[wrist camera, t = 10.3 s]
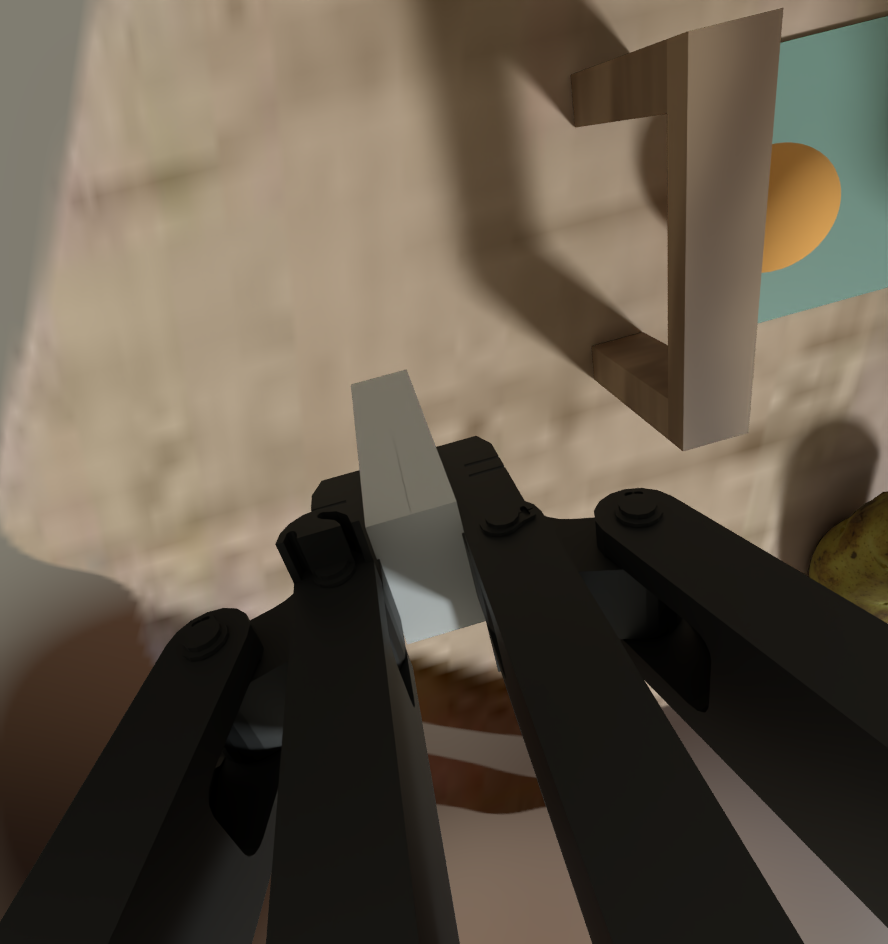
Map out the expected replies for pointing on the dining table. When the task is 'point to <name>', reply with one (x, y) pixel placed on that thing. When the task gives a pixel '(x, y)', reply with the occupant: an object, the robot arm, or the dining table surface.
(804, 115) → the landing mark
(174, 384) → the dining table surface
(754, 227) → the bridge
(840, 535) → the dark green avocado
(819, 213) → the ball
